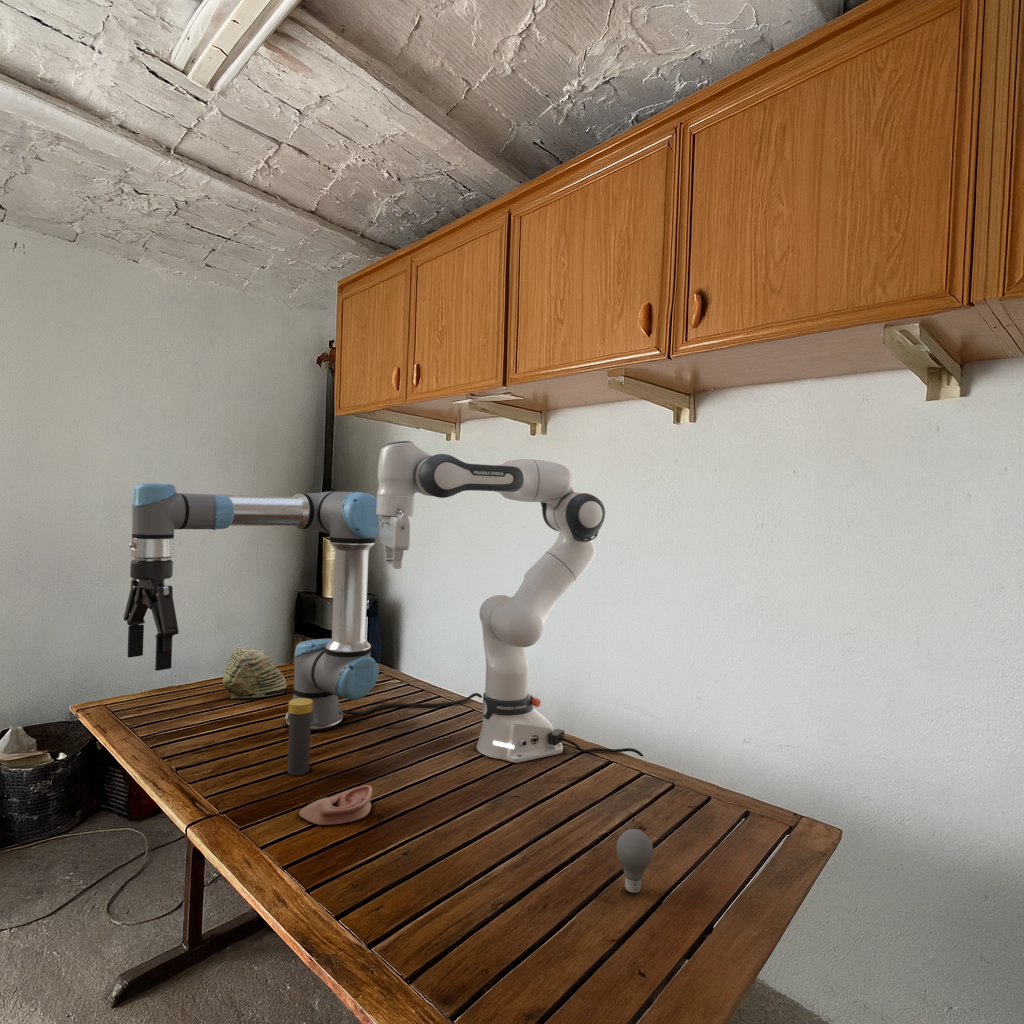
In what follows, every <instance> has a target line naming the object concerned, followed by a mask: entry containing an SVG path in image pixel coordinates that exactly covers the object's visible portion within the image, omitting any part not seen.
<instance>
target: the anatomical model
mask: <svg viewBox="0 0 1024 1024" xmlns="http://www.w3.org/2000/svg"><path fill="white" fill-rule="evenodd" d="M372 795H373V787H372V786H371V785H369V784H367V785H366V784H365V785H361V786H356V787H354V788H351V789H350V788H349V789H347V790H345V791H341V792H340V793H337V794H334V795H332V796H329V797H328V796H327V797H323V798H320V799H317V800H315V801H313V802H311V803H309V804H307V805H306V806H304V807H303V808H301V809H300V810H299V812H298V815H299V817H300V818H302V819H304V820H306V821H307V822H310V823H311V824H315V825H319V826H328V825H339V824H346V823H351V822H354V821H357V820H361V819H363V818H365V817H366V816H367V815H368V814H369V813H370V812H371V809H372V803H371V798H372V797H373V796H372Z"/></svg>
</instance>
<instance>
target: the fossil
mask: <svg viewBox="0 0 1024 1024" xmlns="http://www.w3.org/2000/svg"><path fill="white" fill-rule="evenodd" d="M222 676H223V677H222V685H223V687H224V688H225V690H226V691H228V693H229V698H230V699H250V698H264V697H271V696H275V695H281V694H284V693H285V691H286V689H287V687H288V686H287V680H286V678H285V676H284V674H283V673H282V672H281V669H279V668H278V667H277V665H276V663H275V662H274V660H273V659H272V658H271V657H270V656H269V655H268V654H267V653H266V652H265V650H264V649H263V648H260V647H258V648H251V647H247V646H246V647H245V646H238V647H237V648H236V649H235V650H233V651H232V653H231V656H230V657H229V659H228V660H227V663H226V666H225V668H224V671H223V675H222Z"/></svg>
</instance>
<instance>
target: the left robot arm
mask: <svg viewBox="0 0 1024 1024" xmlns="http://www.w3.org/2000/svg"><path fill="white" fill-rule="evenodd" d="M376 508H377V497H375V495H373V494H370V493H367V492H363V491H362V492H361V491H337V490H336V491H335V490H333V491H332V490H330V491H321V492H311V493H295V494H294V495H293V496H276V495H275V496H274V495H273V496H272V495H248V494H247V495H246V494H244V495H243V494H220V493H219V494H218V493H217V494H216V493H215V494H214V493H189V492H187V493H186V492H177V491H176V486H175V485H174V484H173V483H152V482H139V483H137V484H136V485H135V486H134V488H133V492H132V501H131V520H132V521H131V542H130V543H128V547H129V548H130V549H131V550H130V556H131V558H133V559H132V560H131V561H130V567H129V568H130V571H129V574H130V575H129V576H130V578H131V581H130V590H129V594H128V598H127V603H126V607H125V610H124V615H123V621H124V622H126V624H127V626H128V629H127V630H128V631H127V658H135V657H142V656H144V635H145V634H144V630H145V625H144V624H145V623H146V621H145V619H144V618H145V616H146V615H147V612H148V609H149V610H151V613H152V618H153V620H154V624H155V627H156V631H157V633H156V635H155V636H154V638H155V661H154V663H155V665H154V668H155V669H154V670H155V671H157V672H159V671H164V670H169V669H172V659H173V657H172V655H173V637H175V636H176V635H179V632H180V631H179V625H178V619H177V615H176V614H177V613H176V609H175V603H174V597H173V595H174V593H173V585H165V580H167V579H171V578H172V577H173V575H174V573H173V572H174V561H173V560H172V559H171V558H173V557H174V554H175V553H174V552H175V530H213V531H215V530H224V529H228V528H230V526H233V527H234V526H237V527H238V526H240V527H243V526H246V527H247V526H249V527H250V526H258V527H259V526H268V527H269V526H276V527H277V526H282V527H284V526H285V527H286V526H287V527H288V526H289V527H290V526H291V527H293V528H294V529H296V530H308V531H309V530H310V531H316V532H319V533H325V534H329V544H330V545H331V546H332V547H333V548H334V550H335V551H334V572H333V573H334V577H333V599H332V625H331V626H332V627H331V638H317V639H308V640H304V641H300V642H299V643H297V645H296V646H295V650H294V655H293V657H294V672H293V673H294V674H293V695H292V696H293V697H292V699H291V700H293V699H298V698H308V699H311V700H313V710H312V711H311V731H310V733H316V732H325V731H329V730H332V729H335V728H337V727H339V726H340V725H342V723H343V722H344V715H352V716H364V715H367V714H369V713H371V712H374V711H376V710H379V709H383V708H384V709H385V708H398V707H401V708H411V707H413V708H414V707H415V708H416V707H422V708H436V707H439V708H440V707H447V706H453V705H458V704H462V703H466V702H468V701H469V700H471V699H473V698H474V697H478V698H479V699H483V695H482V694H481V693H478V692H474V693H472V694H470V695H469V696H467V697H465V698H463V699H459V700H455V701H454V700H453V701H448V702H438V703H437V702H436V703H423V702H422V703H419V702H418V703H413V702H411V703H408V702H407V703H405V702H403V703H402V702H401V703H395V702H394V703H382V704H377V705H374V706H373V707H371V708H369V709H367V710H366V709H365V710H363V711H354V710H345V709H342V706H341V702H340V699H339V698H341V699H342V700H343V699H344V700H348V701H349V700H350V701H357V700H360V699H362V698H364V697H365V696H367V695H368V694H370V692H371V690H372V689H374V687H375V685H376V683H377V682H378V678H379V674H380V672H379V671H380V670H379V669H380V668H379V665H378V663H377V662H376V660H375V659H374V657H371V652H372V649H371V648H372V644H371V643H370V642H368V640H367V639H366V631H367V607H368V606H367V605H368V604H367V602H368V582H369V581H368V579H369V555H370V553H369V552H370V550H371V548H372V547H374V545H375V544H376V536H379V515H376ZM289 716H290V713H289V711H287V712H286V714H285V716H284V718H285V726H286V728H287V729H289Z"/></svg>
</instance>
